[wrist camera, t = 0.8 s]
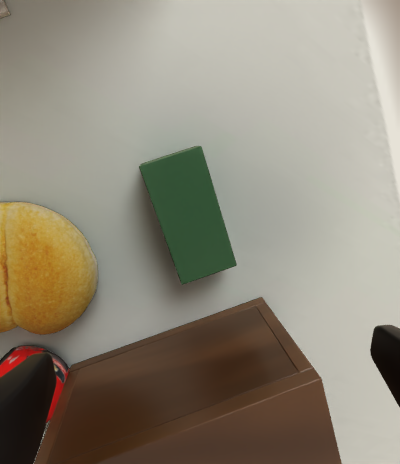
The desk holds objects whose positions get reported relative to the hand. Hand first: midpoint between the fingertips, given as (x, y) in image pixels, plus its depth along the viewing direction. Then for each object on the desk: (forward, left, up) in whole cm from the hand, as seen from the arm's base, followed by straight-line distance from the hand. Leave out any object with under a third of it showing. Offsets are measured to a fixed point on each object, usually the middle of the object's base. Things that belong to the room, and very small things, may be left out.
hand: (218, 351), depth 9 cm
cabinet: (-3, -15, -13) cm, 20 cm away
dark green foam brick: (+1, +1, -13) cm, 13 cm away
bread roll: (-10, +1, -13) cm, 17 cm away
